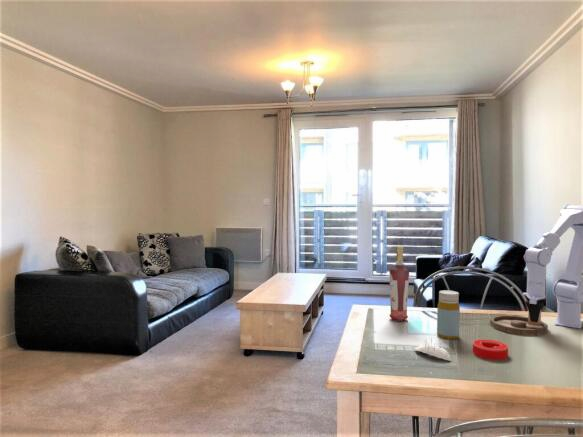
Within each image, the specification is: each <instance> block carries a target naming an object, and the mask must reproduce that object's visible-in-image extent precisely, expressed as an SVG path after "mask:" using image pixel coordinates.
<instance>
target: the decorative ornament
mask: <svg viewBox="0 0 583 437" xmlns="http://www.w3.org/2000/svg"><path fill="white" fill-rule="evenodd" d="M472 354H474V355H475V356H476V357H479V358H482V359H485V360H486V359H487V360H492V361H493V360H494V361H498V360H499V361H500V360H501V361H503V360H506V359H507V358H508V357H509V347H508V345H507V344H505V343H503V342H501V341H499V340H498V341H497V340H493V339H476V340H474V341H473V342H472Z"/></svg>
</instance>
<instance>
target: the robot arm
mask: <svg viewBox="0 0 583 437" xmlns="http://www.w3.org/2000/svg"><path fill="white" fill-rule="evenodd" d="M559 214H560V217H559V219H558V220H557V222H556V223H555V225H554V226H553V228H552V229H551V230H550V232H545V233H543V234H542V236H541V237H540V239H539V240H538V241H537V242H536V243H535V244H534V245H533V246H532V247H529V248H528V249H526V250H525V253H524V255H523V259H524V262H525V267H526V268H527V273H526V274H527V275H526V292H523V293H522V295H523V296H525V297H527V300H525V302H524V304H525V306H526V308H527V312H528V311H529V316H530V320H531V322H538V319H539V315H540V311H541V312H542V310H543V307H544V305H545V303H546V301H547V299H546V298H547V295H546V282H547V265H548V264H549V263H551V260H552V256H553V252H554V251H555V250H556V249H557V247H558V246H559V245H560V243H561V237H562V236H563V235H564V234H565V233H566V232H567V231H568V230H569V228H571V229H572V230H573V231H574V234H573V235H574V236H573V239H572V242H571V247H570V250H569V255H568V258H567V262H566V267H565V271H564V272H563V273H561V274H559V275H558V276H557V277H556V280H555V282H554V283H553V285H552V293H553V295H554V296H555V299H556V300H557V317H556V320H555V323H554V325H556V326H560V327H568V328H576V329H582V324H583V320H581V317H582V316H581V315H582V314H581V313H582V303H583V205H582V204H579V205H578V204H565V205H564V206H563V207H562V209H561V210H560V212H559Z"/></svg>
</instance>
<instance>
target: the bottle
mask: <svg viewBox="0 0 583 437" xmlns="http://www.w3.org/2000/svg"><path fill="white" fill-rule="evenodd" d="M459 296H460V293H459V292H458V291H454V290H450V289H449V290H448V289H447V290H446V289H444V290H439V292H438V302H437V303H438V304H437V308H436V309H437V310H436V311H437V313H436V314H437V315H436V316H437V319H436V322H437V324H436V334H437V337H439V338H441V339H445V340H456V339H458V338H459V337H460V315H461V314H460V312H461V311H460V310H461V309H460V308H461V307H460V303H459V299H460V298H459Z"/></svg>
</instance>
